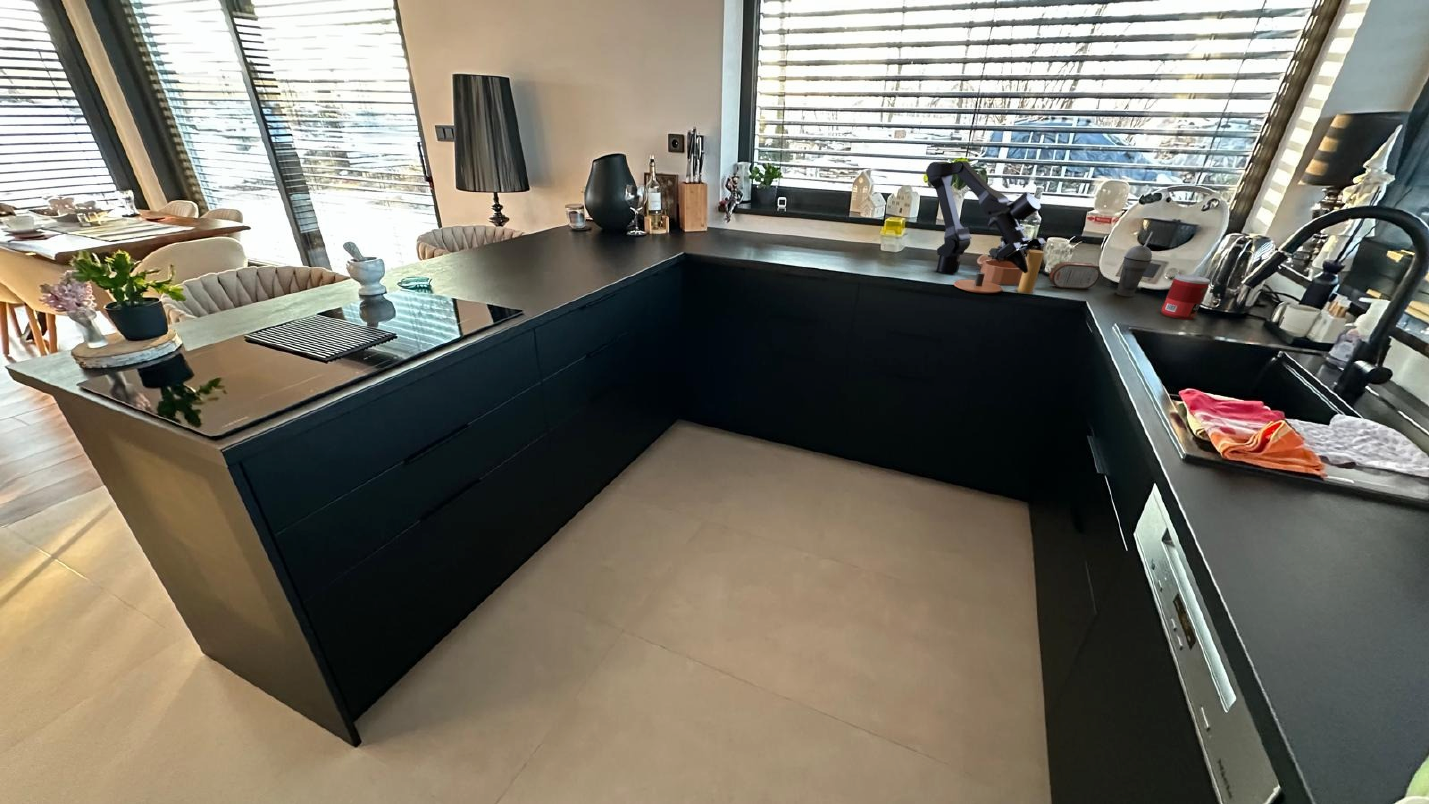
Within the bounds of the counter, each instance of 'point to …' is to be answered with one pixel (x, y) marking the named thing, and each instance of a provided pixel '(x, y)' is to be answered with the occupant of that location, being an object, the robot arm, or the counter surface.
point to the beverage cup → (1134, 269)
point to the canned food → (1185, 296)
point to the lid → (978, 285)
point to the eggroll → (1030, 271)
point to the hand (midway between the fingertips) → (1034, 270)
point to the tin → (1074, 275)
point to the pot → (1001, 272)
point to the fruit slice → (982, 258)
